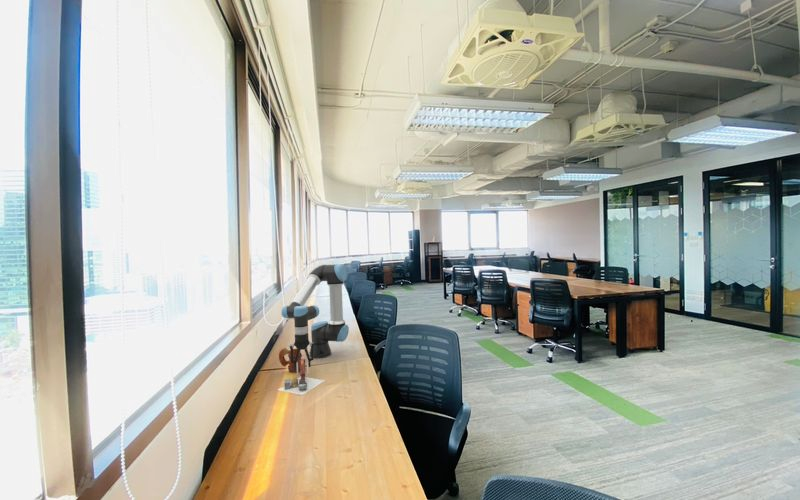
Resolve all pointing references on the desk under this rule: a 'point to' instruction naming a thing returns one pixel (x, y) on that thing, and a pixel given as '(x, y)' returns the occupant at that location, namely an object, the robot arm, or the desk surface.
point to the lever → (302, 375)
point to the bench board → (310, 385)
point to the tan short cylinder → (294, 383)
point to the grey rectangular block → (287, 384)
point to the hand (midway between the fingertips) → (302, 373)
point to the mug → (291, 365)
